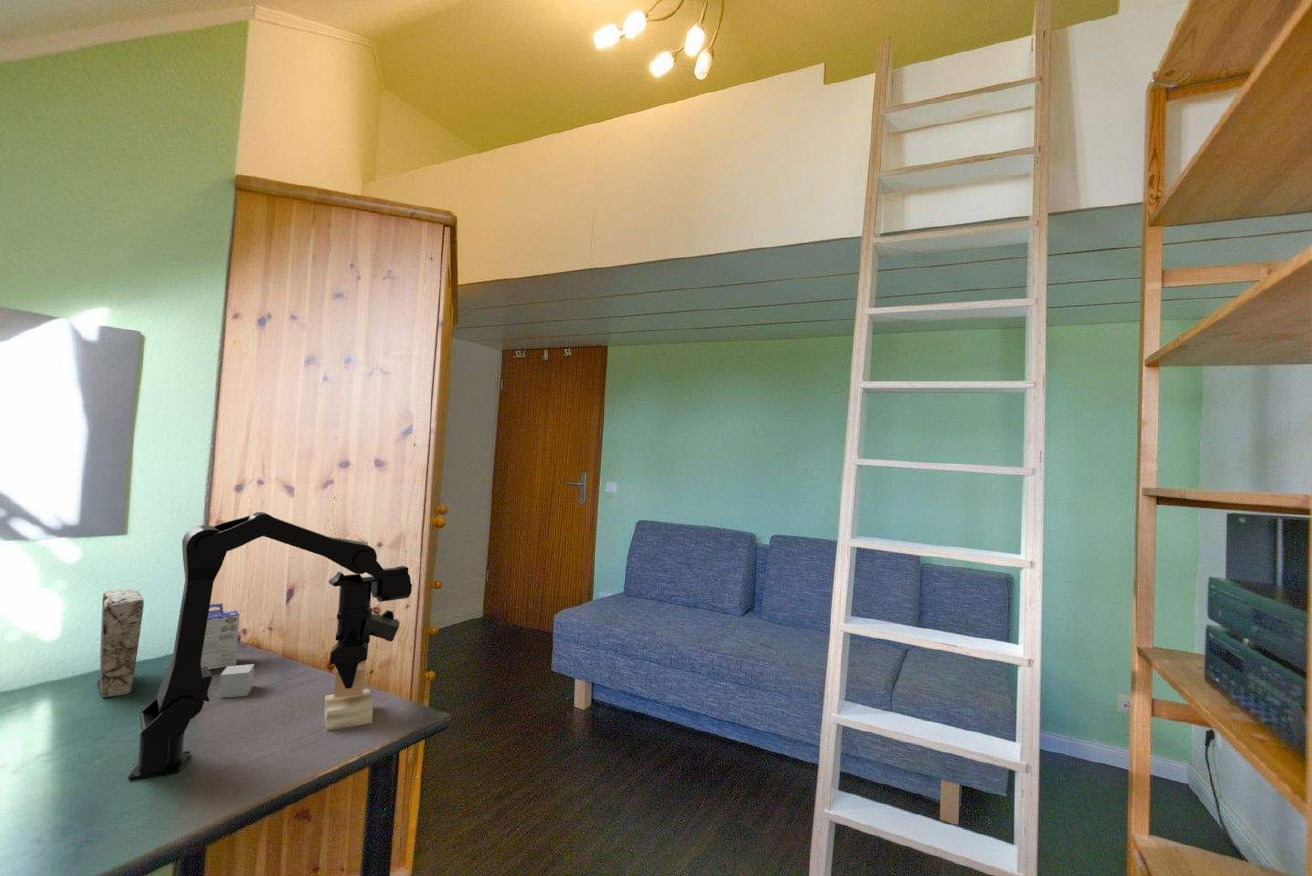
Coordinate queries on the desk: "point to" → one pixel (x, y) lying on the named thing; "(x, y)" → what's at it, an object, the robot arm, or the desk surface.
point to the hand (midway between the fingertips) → (349, 683)
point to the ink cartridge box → (220, 638)
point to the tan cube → (357, 684)
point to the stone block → (119, 640)
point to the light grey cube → (236, 681)
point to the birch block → (348, 710)
